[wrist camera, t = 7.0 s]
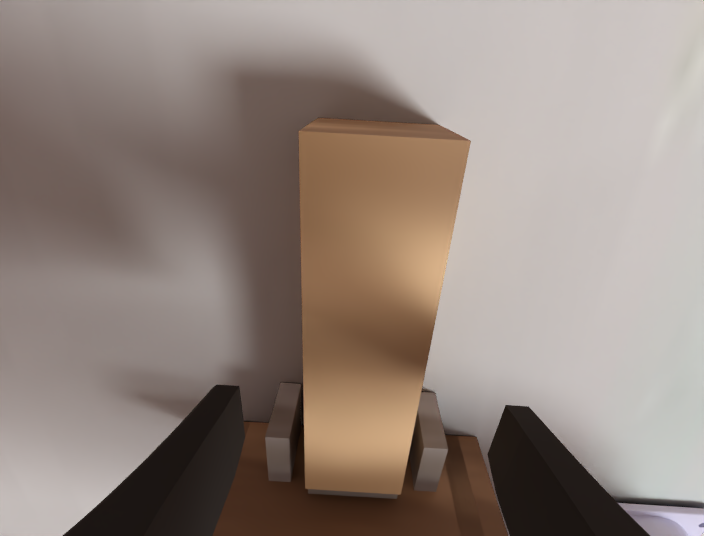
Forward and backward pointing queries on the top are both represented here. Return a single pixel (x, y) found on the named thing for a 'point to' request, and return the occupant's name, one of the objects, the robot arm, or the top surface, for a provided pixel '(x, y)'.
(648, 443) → the top surface
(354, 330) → the tan wooden bar
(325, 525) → the wooden base
